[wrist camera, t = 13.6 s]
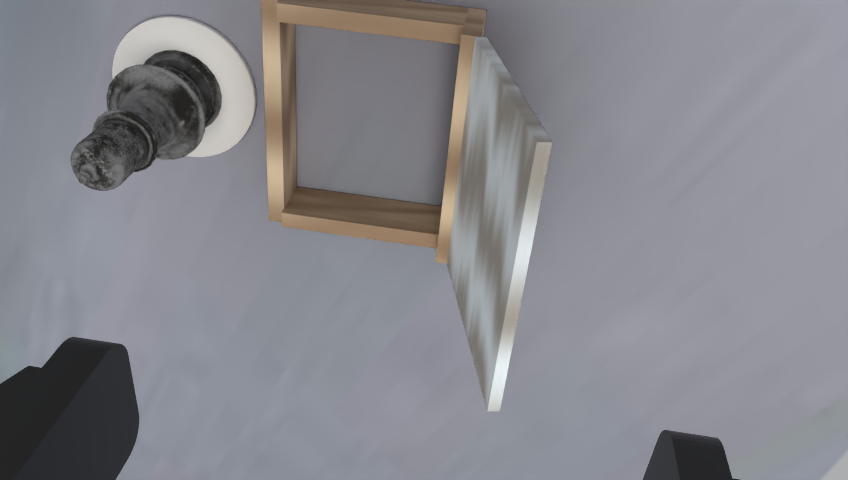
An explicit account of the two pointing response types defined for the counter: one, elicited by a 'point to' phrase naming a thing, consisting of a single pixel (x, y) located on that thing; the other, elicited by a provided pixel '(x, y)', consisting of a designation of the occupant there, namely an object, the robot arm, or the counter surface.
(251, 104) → the saucer
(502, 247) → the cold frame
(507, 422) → the counter surface
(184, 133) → the grey tall domed piece
